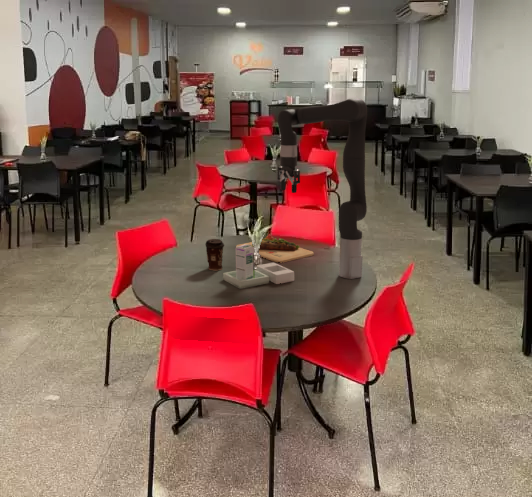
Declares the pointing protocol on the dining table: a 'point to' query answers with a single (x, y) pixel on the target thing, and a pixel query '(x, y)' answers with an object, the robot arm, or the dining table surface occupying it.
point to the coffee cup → (214, 254)
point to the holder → (276, 273)
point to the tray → (258, 280)
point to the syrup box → (245, 262)
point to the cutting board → (280, 250)
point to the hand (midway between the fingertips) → (288, 191)
